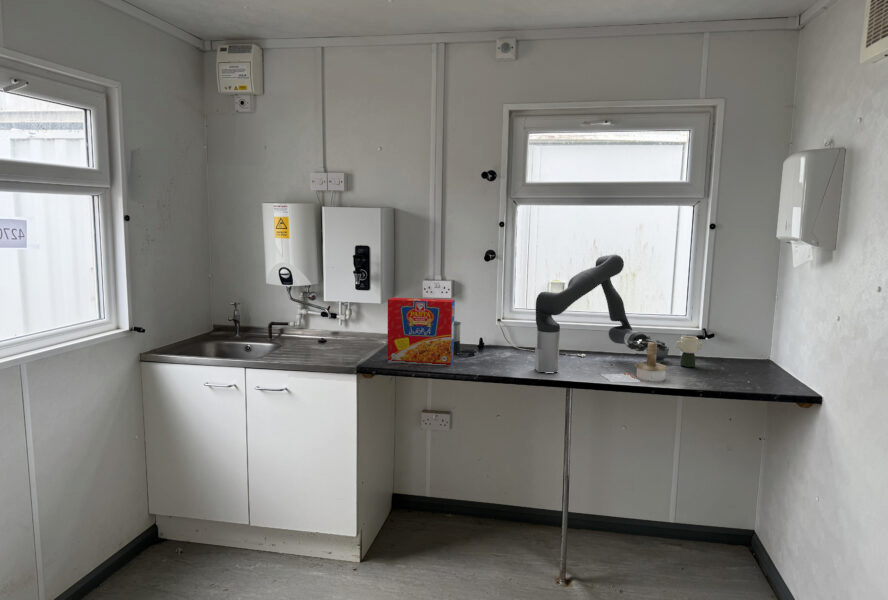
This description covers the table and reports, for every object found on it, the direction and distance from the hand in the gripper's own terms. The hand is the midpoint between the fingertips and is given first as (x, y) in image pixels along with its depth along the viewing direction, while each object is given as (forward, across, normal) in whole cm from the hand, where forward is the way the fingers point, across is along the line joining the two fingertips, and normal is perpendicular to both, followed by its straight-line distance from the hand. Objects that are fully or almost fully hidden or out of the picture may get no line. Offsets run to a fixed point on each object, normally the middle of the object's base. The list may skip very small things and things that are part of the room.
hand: (653, 348), depth 223 cm
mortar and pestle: (-30, +16, +13) cm, 36 cm away
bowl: (-1, 0, +12) cm, 13 cm away
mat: (-2, -12, +12) cm, 18 cm away
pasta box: (-31, -91, +13) cm, 97 cm away
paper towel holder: (-1, 0, +8) cm, 8 cm away
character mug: (-20, +26, +13) cm, 35 cm away
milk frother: (-48, -72, +13) cm, 88 cm away
